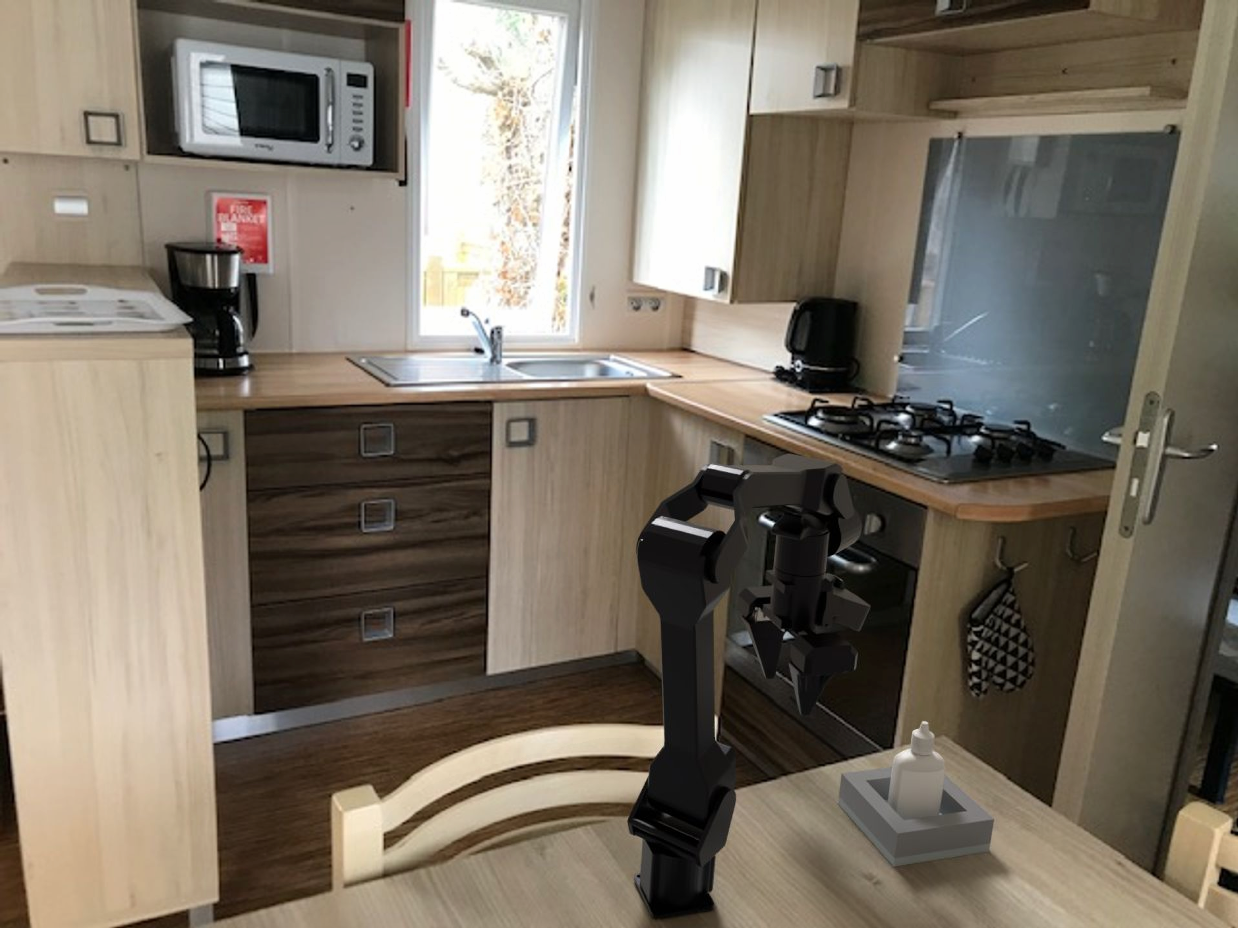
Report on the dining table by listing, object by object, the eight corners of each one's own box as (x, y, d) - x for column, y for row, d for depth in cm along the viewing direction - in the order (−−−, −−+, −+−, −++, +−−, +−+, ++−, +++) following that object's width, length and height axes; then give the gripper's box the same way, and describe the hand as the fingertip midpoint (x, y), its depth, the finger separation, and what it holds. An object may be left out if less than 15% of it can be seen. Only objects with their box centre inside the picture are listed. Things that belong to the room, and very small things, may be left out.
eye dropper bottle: (936, 835, 112) (950, 737, 109) (884, 822, 114) (896, 725, 111) (939, 814, 116) (953, 719, 113) (889, 802, 118) (901, 708, 115)
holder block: (893, 866, 108) (897, 833, 107) (838, 803, 119) (841, 773, 118) (989, 851, 111) (994, 818, 110) (926, 791, 122) (930, 761, 121)
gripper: (909, 594, 106) (892, 728, 110) (824, 538, 124) (812, 656, 127) (813, 600, 103) (799, 739, 107) (740, 542, 120) (730, 663, 124)
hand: (786, 695), depth 116 cm, fingers open, 9 cm apart
